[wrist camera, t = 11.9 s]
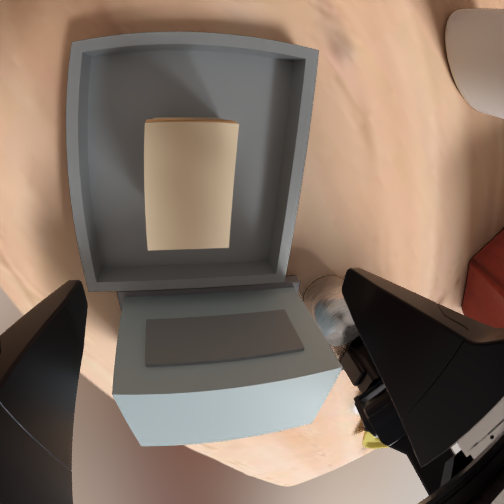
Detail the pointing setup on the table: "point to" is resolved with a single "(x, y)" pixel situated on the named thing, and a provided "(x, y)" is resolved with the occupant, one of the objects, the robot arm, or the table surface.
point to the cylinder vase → (478, 57)
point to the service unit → (219, 363)
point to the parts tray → (185, 105)
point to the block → (189, 181)
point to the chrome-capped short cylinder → (330, 310)
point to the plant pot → (486, 285)
